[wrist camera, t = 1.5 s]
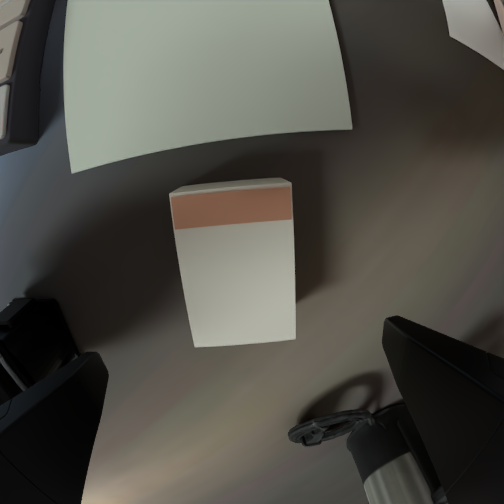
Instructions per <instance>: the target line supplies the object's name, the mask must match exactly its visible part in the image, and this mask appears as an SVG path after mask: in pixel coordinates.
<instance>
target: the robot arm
mask: <svg viewBox="0 0 504 504" xmlns="http://www.w3.org/2000/svg"><path fill="white" fill-rule="evenodd" d="M51 304H52V305H53V306H54V307H53V306H52V305H51ZM382 345H383V349H384V351H385V354H386V357H387V359H388V362H389V365H390V368H391V370H392V373H393V376H394V379H395V381H396V384H397V387H398V389H399V391H400V393H401V395H402V397H403V399H404V401H405V403H406V405H407V407H408V410H409V412H410V414H411V416H412V418H413V420H414V422H415V424H416V427H417V429H418V431H419V433H420V435H421V438H422V440H423V442H424V444H425V447H426V449H427V451H428V454H429V456H430V458H431V461H432V463H433V465H434V468H435V470H436V473H437V475H438V478H439V480H440V483H441V485H442V488H443V490H444V493H445V496H446V498H447V501H448V504H504V358H501V357H498V356H496V355H493V354H491V353H489V352H488V353H486V351H483V350H481V349H479V348H476V347H474V346H471V345H469V344H466V343H464V342H461V341H459V340H457V339H454V338H452V337H449V336H447V335H444V334H442V333H439V332H437V331H435V330H432V329H430V328H427V327H425V326H422V325H420V324H417V323H415V322H413V321H410V320H408V319H405V318H403V317H400V316H392V317H388V318H386V319H385V321H384V327H383V336H382ZM108 378H109V374H108V370H107V368H106V366H105V364H104V362H103V360H102V358H101V356H100V354H99V353H98V352H86V353H84V354H82V355H81V356H80V354H79V352H78V350H77V348H76V346H75V344H74V341H73V339H72V337H71V335H70V332H69V330H68V328H67V325H66V323H65V320H64V318H63V316H62V313H61V310H60V308H59V305H58V303H57V302H56V300H54V299H44V300H36V299H34V298H27V299H16V300H14V301H13V302H10V303H9V304H8V305H7V307H6V308H5V309H4V310H3V311H1V312H0V504H81V500H82V495H83V490H84V485H85V480H86V475H87V471H88V466H89V462H90V458H91V454H92V450H93V446H94V442H95V438H96V434H97V430H98V427H99V423H100V419H101V415H102V410H103V405H104V399H105V394H106V388H107V383H108Z"/></svg>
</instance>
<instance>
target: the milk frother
mask: <svg viewBox="0 0 504 504" xmlns="http://www.w3.org/2000/svg"><path fill="white" fill-rule="evenodd" d="M349 420H351V421H352V422H350V423H349V424H347V425H345V426H343V427H341V428H338V429H336V430H333V431H330V432H327V433H325V430H327V429H328V425H332V424H336V423H341V422H345V421H349ZM354 429H355V430H354ZM352 430H354V431H353V432H352V433H351V434H350V436H349V437H348V439H347V448H348V450H349V451H350V452H351V453H352V455H353V458H354V460H355V463H356V465H357V468H358V471H359V473H360V476H361V479H362V482H363V485H364V488H365V491H366V494H367V497H368V500H369V503H370V504H448V501H447V498H446V496H445V493H444V490H443V488H442V485H441V483H440V480H439V478H438V475H437V473H436V470H435V468H434V465H433V463H432V461H431V458H430V456H429V454H428V451H427V449H426V447H425V444H424V442H423V440H422V438H421V435H420V433H419V431H418V429H417V427H416V424H415V422H414V420H413V418H412V416H411V414H410V412H409V410H408V407H407V405H405V404H402V405H397V406H393V407H390V408H387V409H384V410H382V411H380V412H378V413H376V414H374V415H372V414H371V413H370V412H369V411H368V410H347V411H341V412H337V413H333V414H329V415H325V416H321V417H318V418H315V419H311V420H308V421H306V422H303V423H301V424H299V425H297V426H295V427H293V428H292V429H290V430H289V432H288V436H289V440H290V441H292V442H295V443H302V445H303V446H304V447H311V446H316V445H320V444H321V442H322V441H327V440H330V439H333V438H336V437H339V436H342V435H344V434H346V433H349V432H350V431H352Z"/></svg>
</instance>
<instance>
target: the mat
mask: <svg viewBox="0 0 504 504" xmlns="http://www.w3.org/2000/svg"><path fill="white" fill-rule="evenodd" d="M63 78H64V106H65V121H66V132H67V142H68V150H69V158H70V165H71V172H72V173H77V172H80V171H83V170H87V169H90V168H94V167H97V166H101V165H105V164H108V163H112V162H116V161H120V160H124V159H128V158H132V157H137V156H141V155H146V154H150V153H155V152H159V151H164V150H169V149H174V148H180V147H185V146H191V145H197V144H203V143H209V142H215V141H222V140H229V139H236V138H244V137H253V136H262V135H271V134H282V133H294V132H309V131H328V130H351V129H353V128H352V120H351V112H350V105H349V98H348V91H347V85H346V79H345V73H344V68H343V62H342V57H341V52H340V47H339V42H338V37H337V33H336V29H335V24H334V20H333V16H332V12H331V8H330V4H329V0H68V2H67V11H66V21H65V35H64V62H63Z"/></svg>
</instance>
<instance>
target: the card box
mask: <svg viewBox="0 0 504 504" xmlns="http://www.w3.org/2000/svg"><path fill="white" fill-rule="evenodd" d="M169 198H170V206H171V214H172V221H173V228H174V235H175V242H176V249H177V255H178V261H179V268H180V274H181V279H182V285H183V291H184V296H185V302H186V307H187V312H188V317H189V322H190V327H191V332H192V337H193V341H194V346H195V347H211V346H227V345H240V344H253V343H263V342H273V341H283V340H292V339H296V320H295V256H294V226H293V202H292V183H291V182H289V181H287V180H285V179H283V178H281V177H279V178H263V179H249V180H237V181H226V182H215V183H205V184H196V185H187V186H182V187H180V188H178V189H176V190H175V191H173V192H171V193H169Z"/></svg>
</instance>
